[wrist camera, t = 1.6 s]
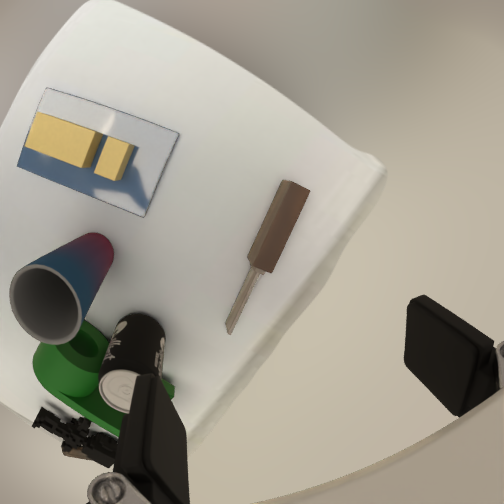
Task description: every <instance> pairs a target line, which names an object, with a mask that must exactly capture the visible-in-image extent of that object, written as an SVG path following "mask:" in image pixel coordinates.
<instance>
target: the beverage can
mask: <svg viewBox="0 0 504 504" xmlns="http://www.w3.org/2000/svg"><path fill="white" fill-rule="evenodd" d="M164 348H165V333H164V330H163V329H162V327H161V325H160V324H159V323H158V322H157V321H156V320H154V319H153V318H151V317H149V316H147V315H143V314H131V315H128V316H126V317H124V318H122V319H121V320H120V321H119V322H118V324H117V326H116V328H115V331H114V333H113V336H112V339H111V341H110V344H109V346H108V349H107V351H106V354H105V357H104V359H103V362H102V365H101V368H100V370H99V374H98V381H99V391H100V394H101V396H102V398H103V399H104V401H105V402H106V403H107V404H108V405H110V406H111V407H112V408H114V409H116V410H118V411H121V412H124V413H129V411H130V405H131V400H132V395H133V390H134V385H135V380H136V377H137V376H139V375H144V374H150V373H153V374H154V376H155V377H156V376H159V377H160V378H161V379H162V368H163V358H164Z"/></svg>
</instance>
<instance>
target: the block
mask: <svg viewBox="0 0 504 504" xmlns="http://www.w3.org/2000/svg"><path fill="white" fill-rule="evenodd" d="M62 450H63V447H62ZM81 451H82V447H78V448H77V449H75V448H72V450H71V451H70V452H69V453H68V452H67V451H66V452H64V451H62V452H63V454H64V455H65V456H69V457H75V458H80V459H86V460H91V459H89V458H87V457H86V456H87V455H86V454H84V453H82V452H81Z"/></svg>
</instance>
